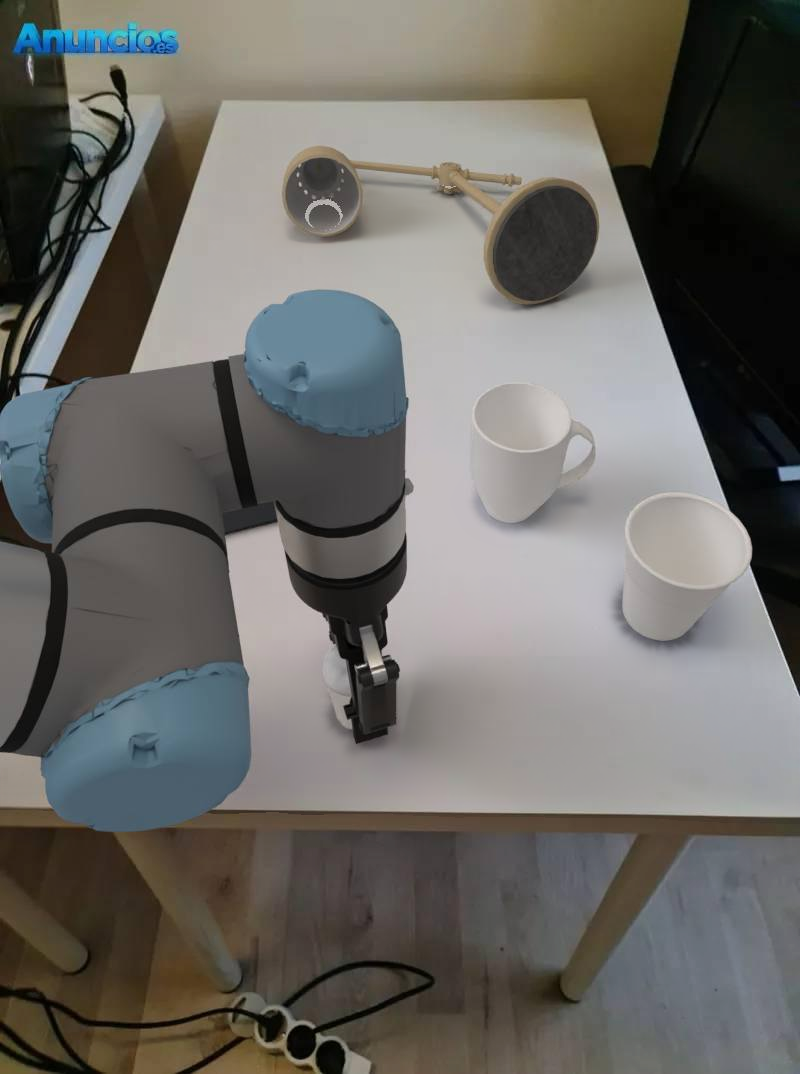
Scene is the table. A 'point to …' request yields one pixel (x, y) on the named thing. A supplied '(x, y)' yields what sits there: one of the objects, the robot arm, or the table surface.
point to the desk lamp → (518, 224)
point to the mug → (522, 448)
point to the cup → (679, 561)
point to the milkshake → (337, 684)
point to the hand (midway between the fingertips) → (362, 710)
